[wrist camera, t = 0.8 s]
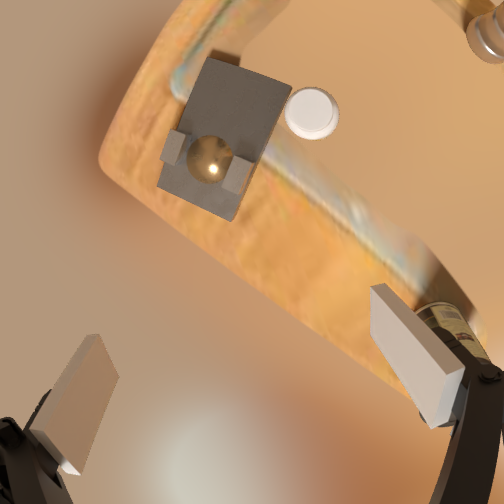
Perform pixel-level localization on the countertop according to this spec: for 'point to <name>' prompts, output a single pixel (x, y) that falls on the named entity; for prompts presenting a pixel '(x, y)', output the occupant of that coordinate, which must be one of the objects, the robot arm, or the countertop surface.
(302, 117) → the supplement bottle
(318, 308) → the countertop surface
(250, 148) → the hinge plate
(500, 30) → the plastic bottle
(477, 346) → the coffee can
